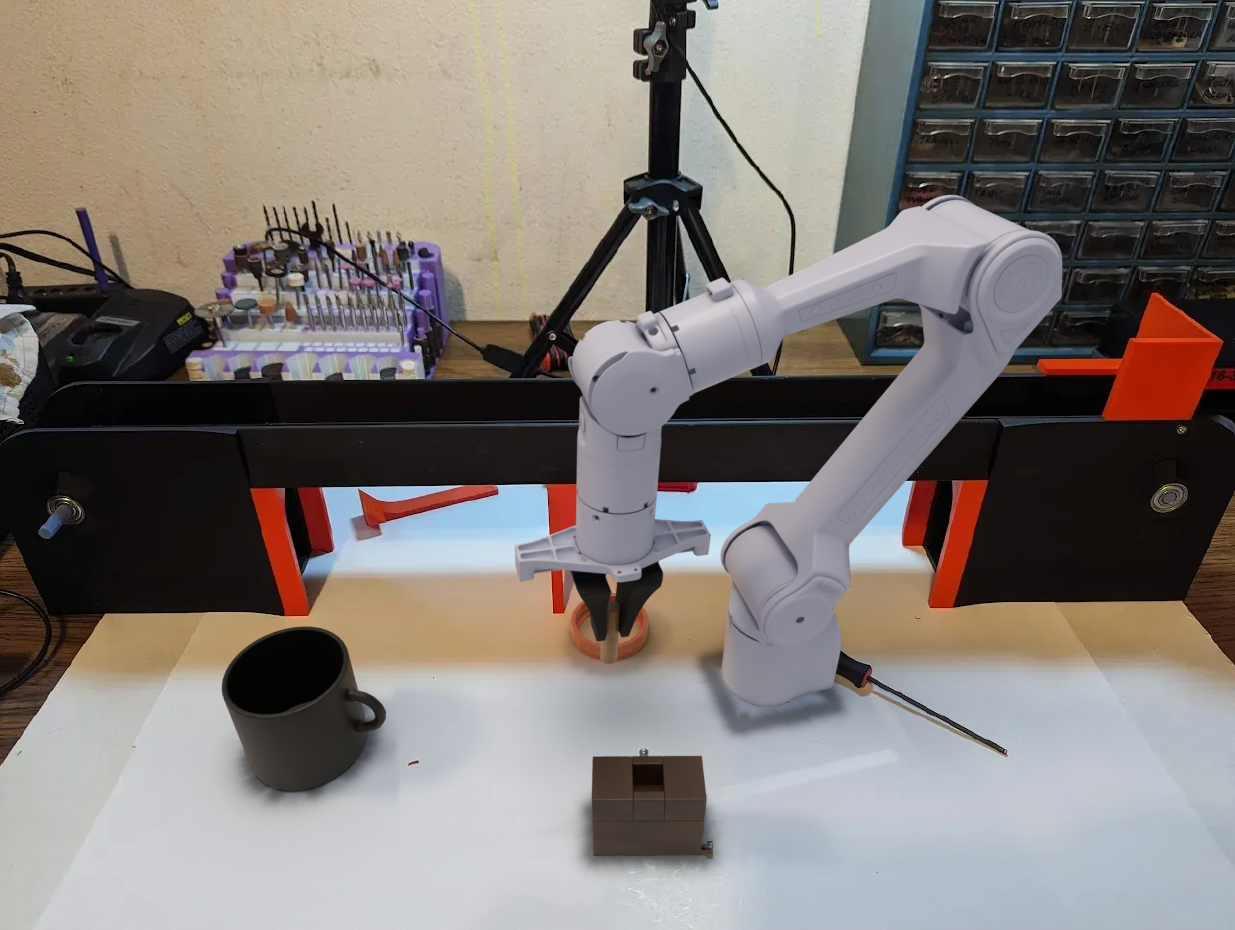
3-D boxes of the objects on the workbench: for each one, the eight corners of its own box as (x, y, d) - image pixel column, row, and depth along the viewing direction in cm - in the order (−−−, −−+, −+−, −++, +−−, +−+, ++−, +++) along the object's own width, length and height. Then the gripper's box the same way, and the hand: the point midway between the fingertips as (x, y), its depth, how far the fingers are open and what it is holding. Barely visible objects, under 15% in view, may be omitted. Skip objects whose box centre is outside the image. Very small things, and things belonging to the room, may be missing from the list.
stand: (696, 810, 63) (702, 755, 59) (701, 855, 60) (706, 799, 56) (594, 811, 63) (592, 756, 59) (593, 855, 60) (591, 800, 56)
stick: (614, 650, 67) (617, 599, 64) (619, 662, 66) (622, 611, 63) (598, 653, 67) (600, 601, 64) (602, 665, 65) (604, 613, 62)
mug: (374, 801, 63) (353, 726, 58) (228, 787, 64) (196, 712, 59) (412, 706, 71) (396, 632, 66) (281, 694, 72) (257, 621, 67)
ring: (635, 609, 81) (636, 587, 80) (656, 662, 75) (657, 639, 74) (565, 622, 80) (564, 599, 78) (581, 677, 74) (580, 654, 72)
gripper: (524, 538, 52) (528, 683, 60) (733, 511, 56) (712, 651, 63) (508, 478, 58) (513, 618, 65) (698, 457, 61) (683, 591, 69)
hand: (609, 630), depth 65 cm, fingers closed on stick, 1 cm apart
